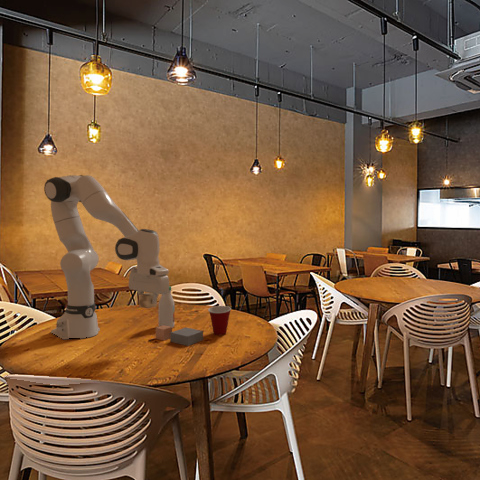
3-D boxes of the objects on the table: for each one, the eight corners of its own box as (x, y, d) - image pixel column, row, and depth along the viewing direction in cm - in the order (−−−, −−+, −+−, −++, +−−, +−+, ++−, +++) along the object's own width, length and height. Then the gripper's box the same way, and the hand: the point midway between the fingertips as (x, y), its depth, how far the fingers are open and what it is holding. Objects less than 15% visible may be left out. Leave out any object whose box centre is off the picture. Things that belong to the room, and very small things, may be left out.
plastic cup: (202, 333, 183) (203, 308, 182) (219, 329, 191) (219, 304, 190) (219, 338, 176) (219, 312, 175) (235, 333, 183) (236, 308, 183)
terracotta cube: (155, 338, 175) (155, 327, 174) (163, 336, 179) (163, 325, 179) (163, 340, 172) (163, 329, 172) (171, 338, 176) (171, 326, 176)
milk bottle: (171, 329, 189) (171, 288, 188) (155, 328, 191) (155, 287, 190) (176, 325, 197) (176, 285, 196) (162, 324, 198) (162, 284, 197)
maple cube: (139, 306, 161) (139, 294, 161) (148, 304, 165) (148, 292, 165) (147, 308, 158) (147, 296, 158) (156, 306, 162) (156, 294, 162)
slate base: (170, 341, 170) (170, 332, 170) (185, 336, 179) (185, 327, 179) (187, 345, 165) (188, 336, 165) (203, 340, 173) (203, 331, 173)
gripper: (125, 267, 164) (124, 300, 165) (160, 272, 153) (160, 307, 153) (136, 266, 169) (136, 298, 170) (171, 270, 158) (171, 304, 159)
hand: (148, 302), depth 162 cm, fingers closed on maple cube, 5 cm apart
